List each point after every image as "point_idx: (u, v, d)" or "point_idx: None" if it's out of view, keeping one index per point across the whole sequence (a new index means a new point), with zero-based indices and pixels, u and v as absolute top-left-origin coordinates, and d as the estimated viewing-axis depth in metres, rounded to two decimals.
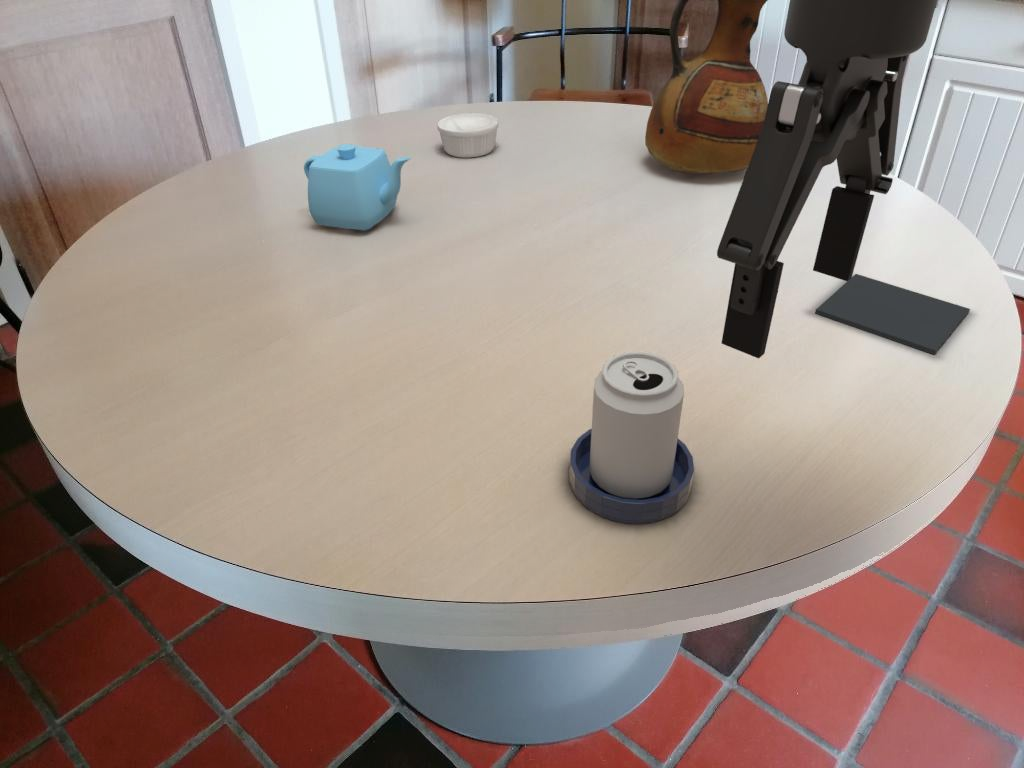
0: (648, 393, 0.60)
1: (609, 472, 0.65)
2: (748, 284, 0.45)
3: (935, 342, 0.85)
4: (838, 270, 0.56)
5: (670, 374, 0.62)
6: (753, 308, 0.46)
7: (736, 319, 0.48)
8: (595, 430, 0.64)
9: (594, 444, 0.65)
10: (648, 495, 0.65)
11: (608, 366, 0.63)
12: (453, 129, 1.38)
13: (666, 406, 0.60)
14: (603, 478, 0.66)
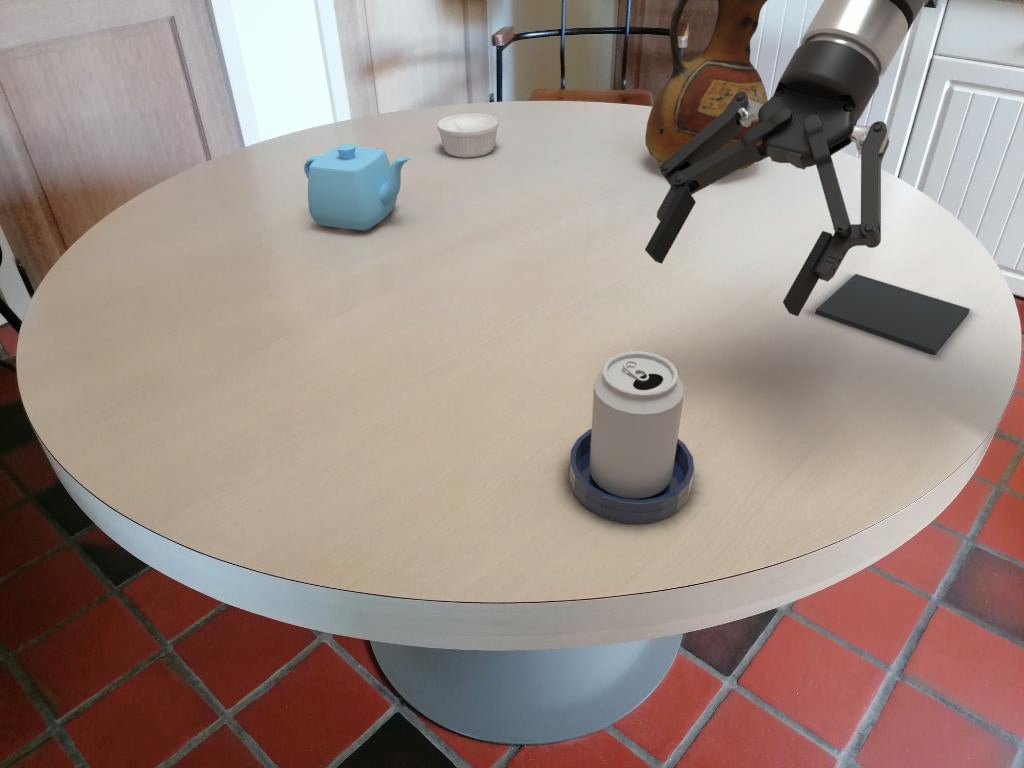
0: (648, 393, 0.60)
1: (609, 472, 0.65)
2: None
3: (935, 342, 0.85)
4: None
5: (670, 374, 0.62)
6: (660, 213, 0.69)
7: None
8: (595, 430, 0.64)
9: (594, 444, 0.65)
10: (648, 495, 0.65)
11: (608, 366, 0.63)
12: (453, 129, 1.38)
13: (666, 406, 0.60)
14: (603, 478, 0.66)
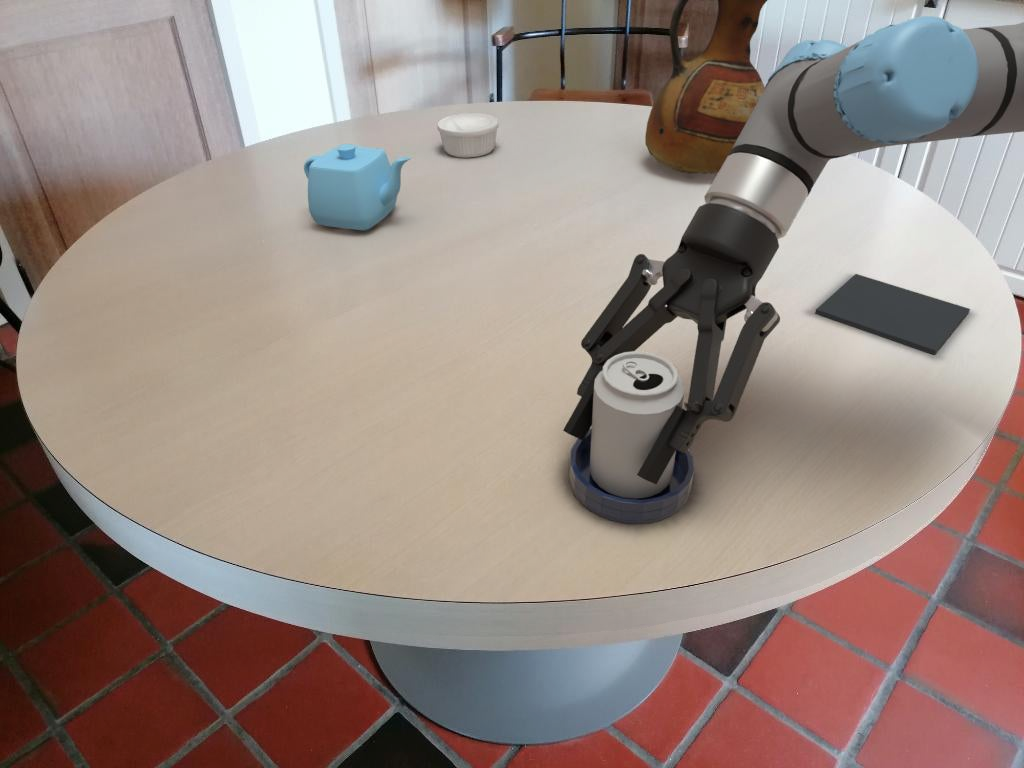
0: (648, 393, 0.60)
1: (609, 472, 0.65)
2: None
3: (935, 342, 0.85)
4: None
5: (670, 374, 0.62)
6: (580, 390, 0.67)
7: None
8: (595, 430, 0.64)
9: (594, 444, 0.65)
10: (648, 495, 0.65)
11: (608, 366, 0.63)
12: (453, 129, 1.38)
13: (666, 406, 0.60)
14: (603, 478, 0.66)
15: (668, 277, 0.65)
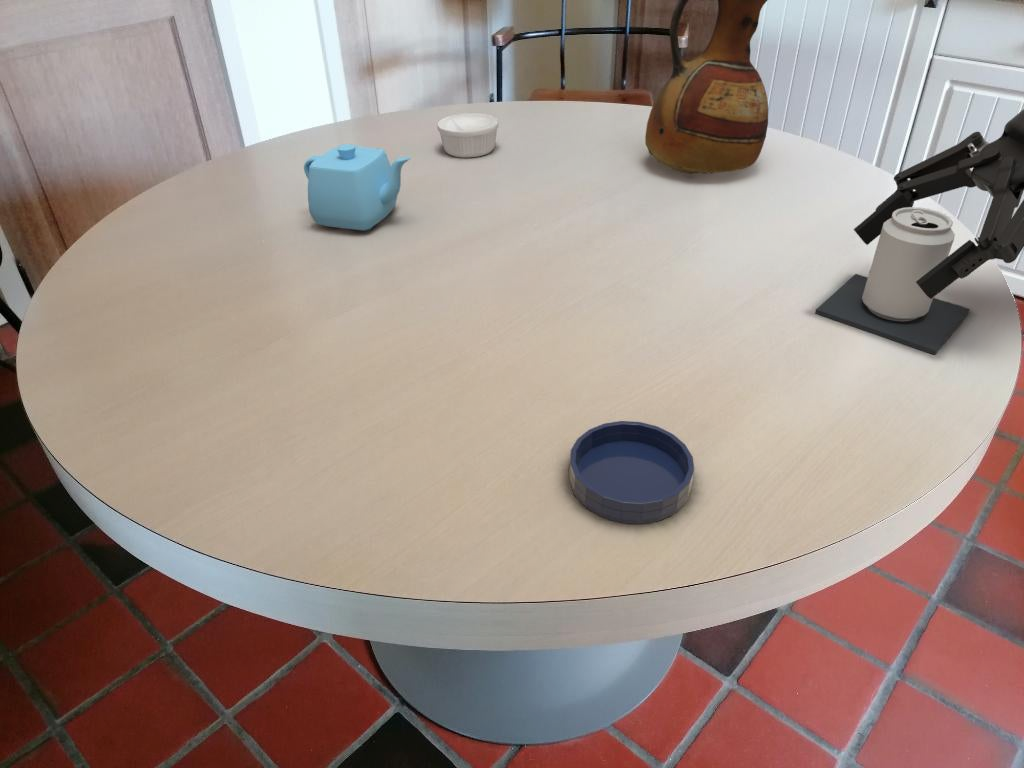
0: (917, 227, 0.82)
1: (872, 289, 0.89)
2: None
3: (935, 342, 0.85)
4: None
5: (946, 226, 0.84)
6: (879, 207, 0.92)
7: None
8: (874, 256, 0.89)
9: (870, 268, 0.90)
10: (896, 316, 0.88)
11: (901, 211, 0.86)
12: (453, 129, 1.38)
13: (929, 242, 0.82)
14: (868, 295, 0.90)
15: None
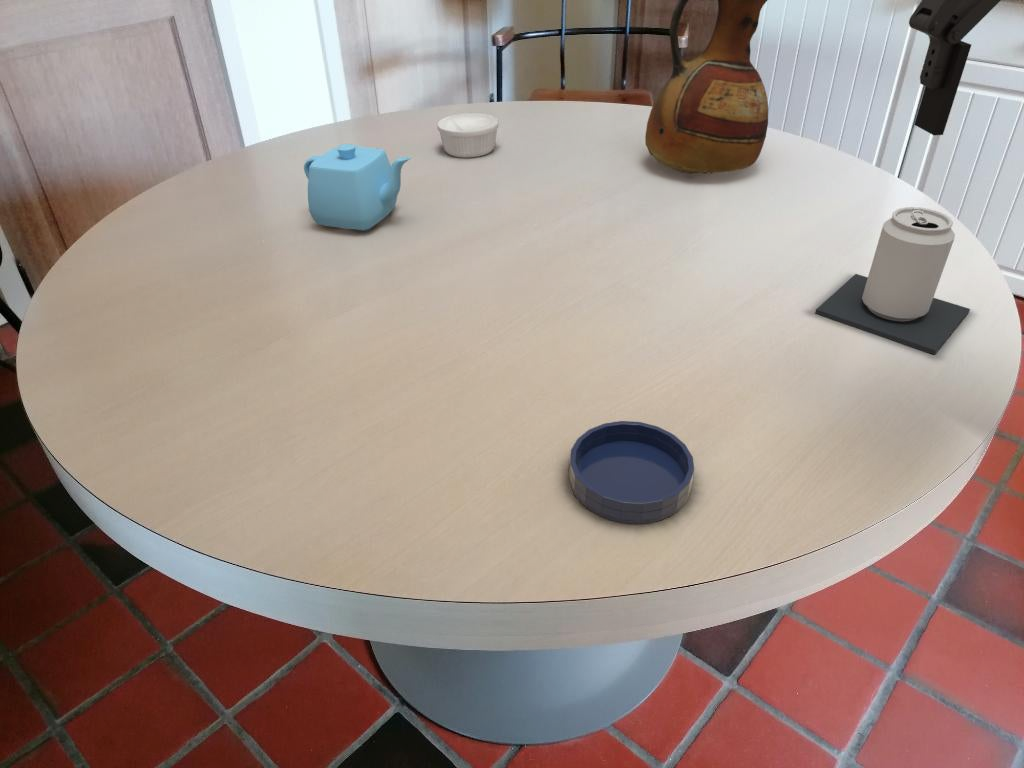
0: (917, 227, 0.82)
1: (872, 289, 0.89)
2: (933, 57, 0.56)
3: (935, 342, 0.85)
4: None
5: (946, 226, 0.84)
6: (934, 82, 0.56)
7: (927, 99, 0.58)
8: (874, 256, 0.89)
9: None
10: (896, 316, 0.88)
11: (901, 211, 0.86)
12: (453, 129, 1.38)
13: (929, 242, 0.82)
14: (868, 295, 0.90)
15: None
